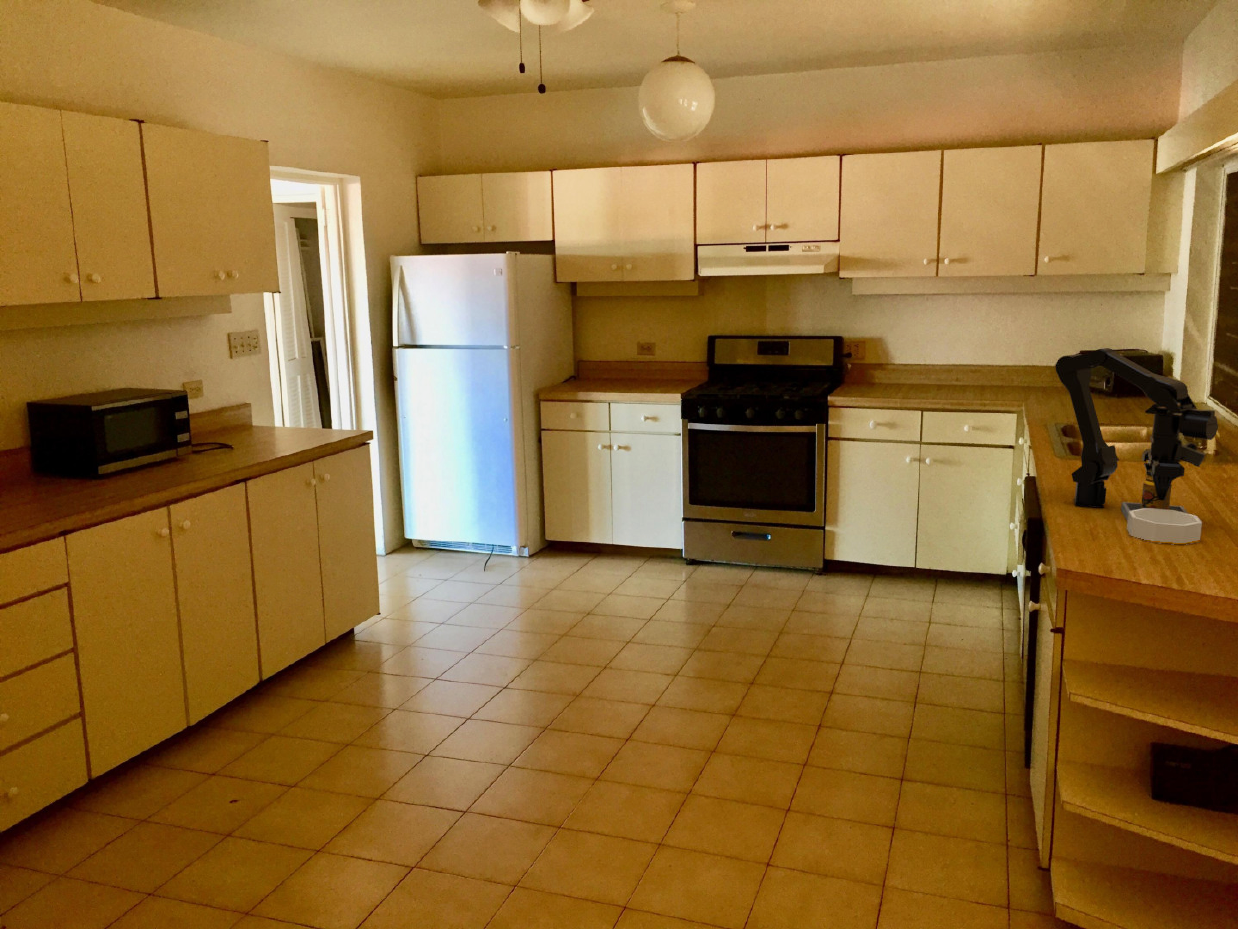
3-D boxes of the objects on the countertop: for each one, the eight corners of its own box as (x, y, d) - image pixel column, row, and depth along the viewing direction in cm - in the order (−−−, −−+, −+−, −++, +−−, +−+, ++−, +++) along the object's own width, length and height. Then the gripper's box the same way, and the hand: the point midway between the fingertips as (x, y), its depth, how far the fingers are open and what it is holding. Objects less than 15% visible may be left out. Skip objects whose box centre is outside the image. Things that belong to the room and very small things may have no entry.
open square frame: (1128, 523, 234) (1129, 515, 234) (1120, 509, 247) (1121, 502, 246) (1193, 528, 230) (1194, 520, 230) (1181, 513, 243) (1182, 506, 242)
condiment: (1133, 519, 239) (1138, 471, 236) (1145, 512, 244) (1150, 465, 242) (1166, 524, 234) (1171, 475, 231) (1177, 517, 239) (1183, 470, 237)
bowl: (1133, 541, 221) (1135, 522, 220) (1124, 524, 234) (1126, 506, 233) (1203, 546, 216) (1206, 527, 215) (1190, 529, 229) (1192, 511, 228)
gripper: (1213, 442, 223) (1205, 509, 226) (1195, 428, 240) (1188, 490, 243) (1158, 440, 226) (1151, 505, 230) (1144, 426, 243) (1138, 487, 247)
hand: (1158, 497), depth 237 cm, fingers closed on condiment, 6 cm apart
